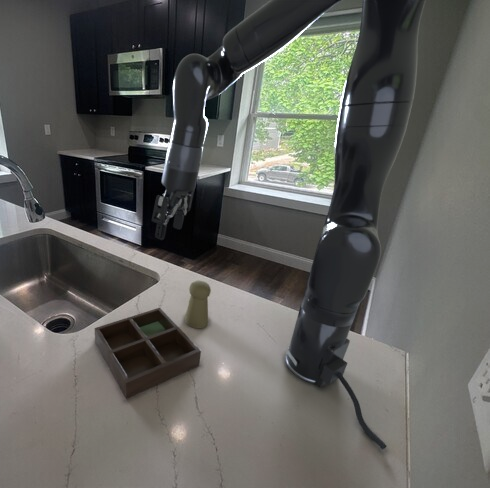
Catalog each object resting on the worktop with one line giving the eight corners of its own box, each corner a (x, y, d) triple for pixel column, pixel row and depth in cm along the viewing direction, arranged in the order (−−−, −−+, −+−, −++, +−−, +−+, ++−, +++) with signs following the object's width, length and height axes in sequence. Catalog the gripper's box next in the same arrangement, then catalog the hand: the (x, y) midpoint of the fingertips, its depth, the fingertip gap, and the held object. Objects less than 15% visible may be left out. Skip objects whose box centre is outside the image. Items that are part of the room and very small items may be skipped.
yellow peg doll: (207, 330, 73) (212, 292, 69) (183, 325, 74) (186, 288, 70) (209, 315, 79) (213, 279, 74) (186, 311, 80) (189, 275, 75)
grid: (199, 365, 62) (201, 350, 61) (126, 399, 54) (126, 383, 53) (159, 320, 75) (159, 307, 74) (95, 342, 67) (94, 328, 66)
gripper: (182, 174, 56) (167, 249, 63) (210, 166, 68) (195, 230, 75) (149, 164, 59) (138, 236, 66) (182, 158, 70) (169, 220, 78)
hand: (168, 233), depth 71 cm, fingers open, 8 cm apart
